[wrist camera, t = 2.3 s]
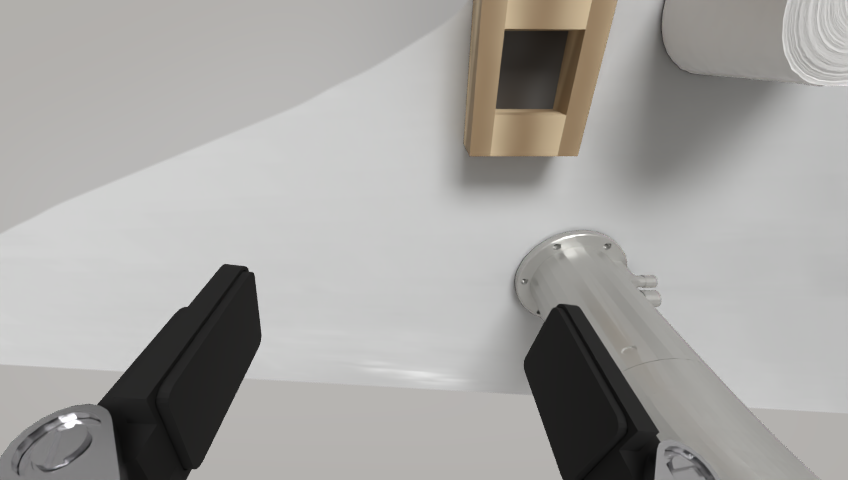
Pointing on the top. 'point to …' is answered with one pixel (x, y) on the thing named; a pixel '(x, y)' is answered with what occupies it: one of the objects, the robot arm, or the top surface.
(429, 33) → the top surface
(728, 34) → the toilet tissue
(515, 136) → the bamboo dock
